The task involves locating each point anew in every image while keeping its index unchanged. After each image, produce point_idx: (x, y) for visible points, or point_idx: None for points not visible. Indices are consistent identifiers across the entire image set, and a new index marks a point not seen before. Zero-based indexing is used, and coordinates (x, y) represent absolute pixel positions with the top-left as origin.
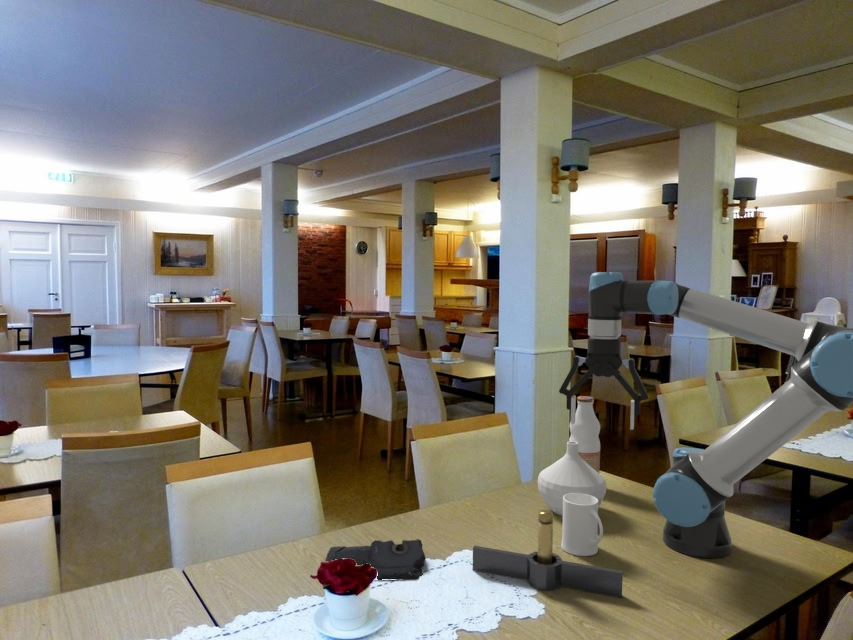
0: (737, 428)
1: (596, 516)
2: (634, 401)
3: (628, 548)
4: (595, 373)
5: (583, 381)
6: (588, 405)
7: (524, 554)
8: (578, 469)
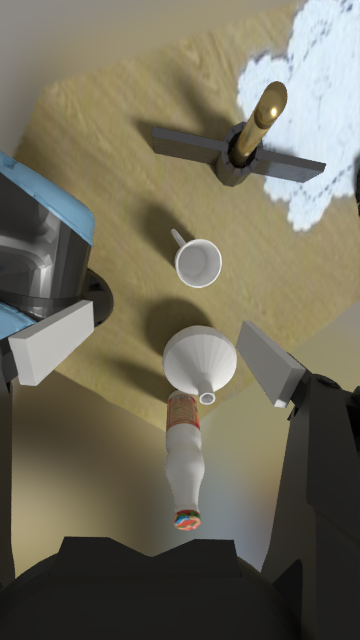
0: None
1: (178, 234)
2: (9, 350)
3: (145, 273)
4: (261, 610)
5: (319, 457)
6: (182, 503)
7: (265, 158)
8: (195, 360)
